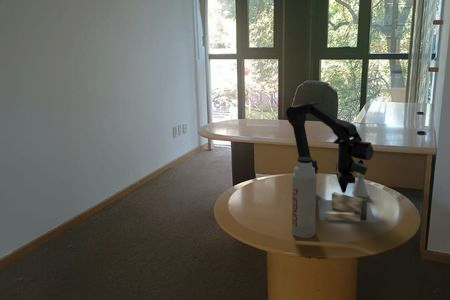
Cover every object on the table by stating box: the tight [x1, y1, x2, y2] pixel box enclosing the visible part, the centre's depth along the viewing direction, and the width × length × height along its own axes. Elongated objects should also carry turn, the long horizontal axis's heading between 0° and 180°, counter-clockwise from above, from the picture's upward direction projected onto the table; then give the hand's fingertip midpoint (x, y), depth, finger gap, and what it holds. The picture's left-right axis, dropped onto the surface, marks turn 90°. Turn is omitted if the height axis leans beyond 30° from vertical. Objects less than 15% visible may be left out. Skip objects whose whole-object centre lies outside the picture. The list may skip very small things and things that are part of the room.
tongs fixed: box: [324, 199, 368, 222], centre depth 150 cm, size 15×4×7 cm, turn 79°
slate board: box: [317, 199, 377, 224], centre depth 158 cm, size 20×20×1 cm
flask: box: [351, 172, 369, 198], centre depth 174 cm, size 7×7×10 cm
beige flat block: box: [331, 191, 363, 215], centre depth 156 cm, size 12×2×6 cm, turn 44°
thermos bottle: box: [291, 157, 318, 239], centre depth 138 cm, size 8×8×28 cm
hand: (343, 192), depth 164 cm, fingers closed
